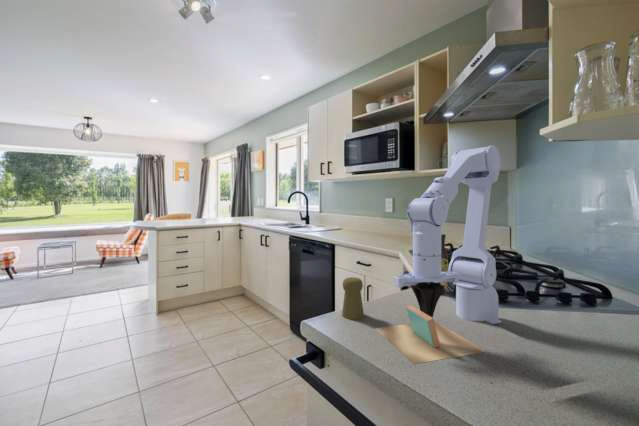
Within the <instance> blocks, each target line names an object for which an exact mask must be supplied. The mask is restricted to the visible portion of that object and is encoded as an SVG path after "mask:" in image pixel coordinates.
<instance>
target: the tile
mask: <svg viewBox="0 0 639 426" xmlns="http://www.w3.org/2000/svg"><path fill="white" fill-rule="evenodd" d="M406 312H407V314H408V315H407V316H408V319H409V322H410V323H409V324H411V327H412V331H413V332H414V333H415V334H417V335H418V336H420V337H421V338H422V339H424V340H425V341H426V342H428V343H429V344H430V345H432V346H433V347H434V348H436V347H438V346H440V343H439V339H438V335H437V331H436V327H435V323H434V320H435V319H434V318H432V317H430V316H429V315H427V314H425V313H424V312H422V311H420V308H417V307H415V306H413V305H412V304H410V305H408V306H406Z"/></svg>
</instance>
